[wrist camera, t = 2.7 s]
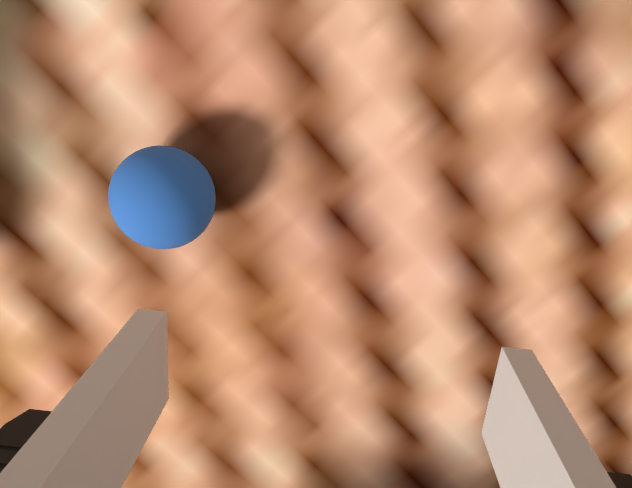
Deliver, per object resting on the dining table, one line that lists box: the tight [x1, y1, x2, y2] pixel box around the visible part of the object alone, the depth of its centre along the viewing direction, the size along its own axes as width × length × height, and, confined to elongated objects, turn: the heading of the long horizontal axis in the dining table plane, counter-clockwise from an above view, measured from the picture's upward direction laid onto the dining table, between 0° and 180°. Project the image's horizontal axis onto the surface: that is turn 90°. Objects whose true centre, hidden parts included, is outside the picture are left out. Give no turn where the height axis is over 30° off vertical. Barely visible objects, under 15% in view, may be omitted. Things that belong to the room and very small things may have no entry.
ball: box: [108, 146, 216, 249], centre depth 28 cm, size 6×6×6 cm
